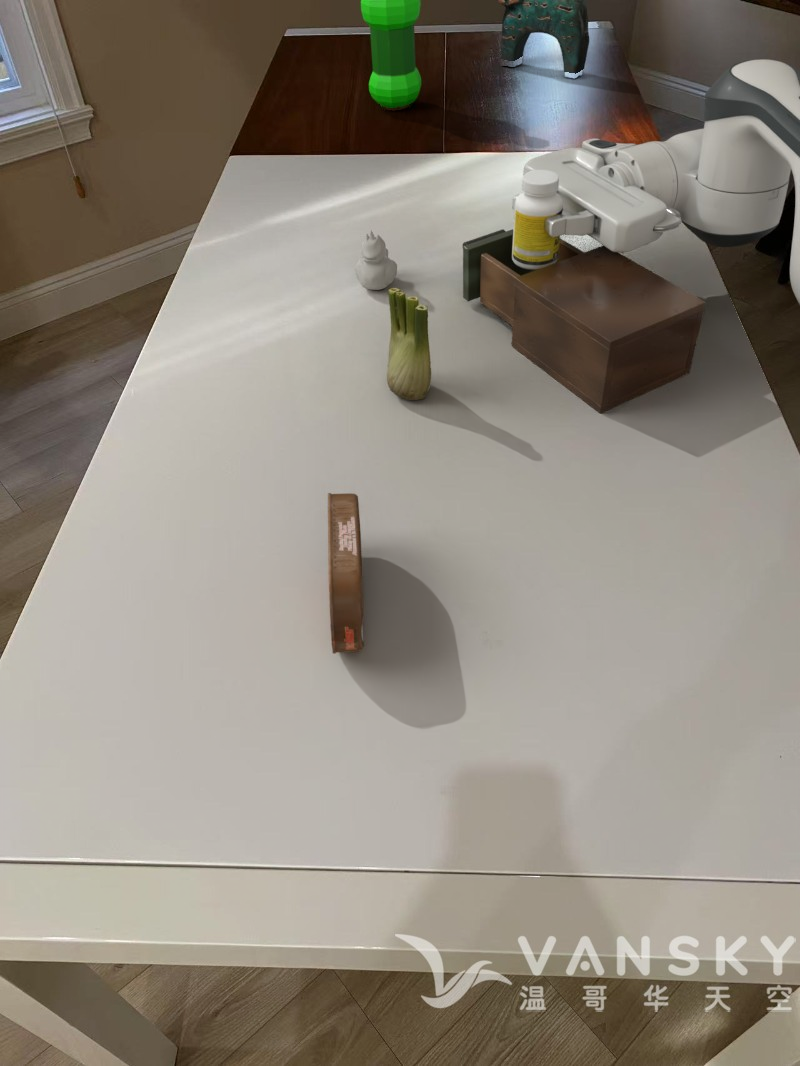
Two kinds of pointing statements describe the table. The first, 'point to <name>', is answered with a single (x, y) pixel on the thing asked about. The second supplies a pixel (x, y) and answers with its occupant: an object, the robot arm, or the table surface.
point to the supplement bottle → (536, 220)
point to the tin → (345, 573)
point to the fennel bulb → (408, 347)
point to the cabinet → (605, 326)
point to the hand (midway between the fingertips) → (531, 216)
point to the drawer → (497, 270)
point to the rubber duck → (375, 264)
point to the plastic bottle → (393, 51)
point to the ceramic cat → (546, 28)
